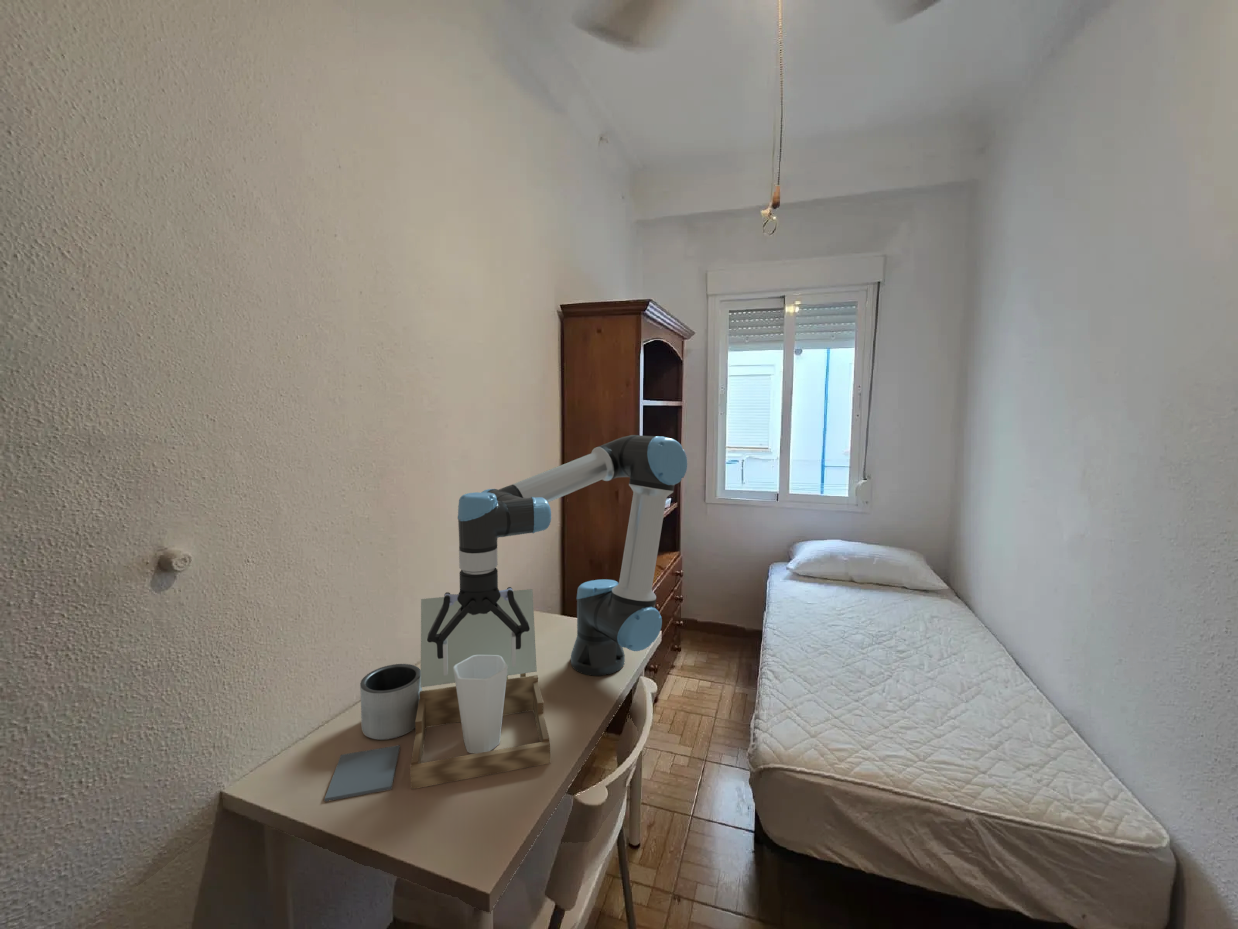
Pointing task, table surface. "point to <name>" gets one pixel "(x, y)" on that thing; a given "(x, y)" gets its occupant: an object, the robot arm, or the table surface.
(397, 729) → the planter
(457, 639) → the lid
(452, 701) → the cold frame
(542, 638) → the table surface
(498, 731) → the cup
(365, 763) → the mat
